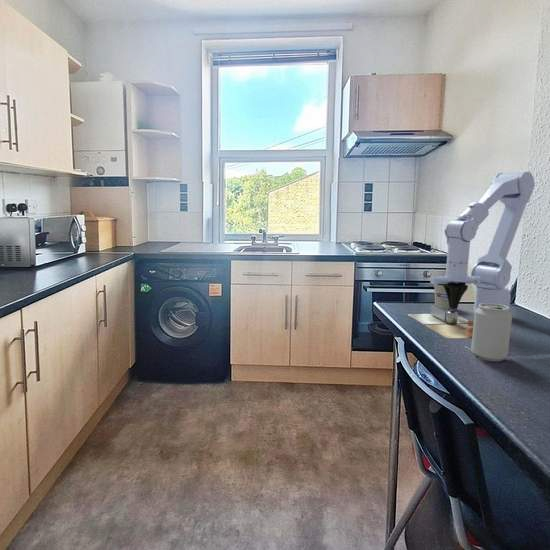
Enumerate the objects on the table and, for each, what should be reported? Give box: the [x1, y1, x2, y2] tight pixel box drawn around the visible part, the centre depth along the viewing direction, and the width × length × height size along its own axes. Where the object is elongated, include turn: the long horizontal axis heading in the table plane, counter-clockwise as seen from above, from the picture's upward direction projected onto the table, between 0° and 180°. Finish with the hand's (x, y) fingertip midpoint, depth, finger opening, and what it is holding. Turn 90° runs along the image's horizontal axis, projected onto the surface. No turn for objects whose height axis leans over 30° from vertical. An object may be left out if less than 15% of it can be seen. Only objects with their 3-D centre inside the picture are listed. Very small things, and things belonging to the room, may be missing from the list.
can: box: [470, 303, 513, 362], centre depth 98 cm, size 8×8×12 cm
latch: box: [430, 304, 459, 324], centre depth 125 cm, size 11×3×3 cm, turn 8°
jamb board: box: [406, 309, 474, 340], centre depth 121 cm, size 15×23×5 cm, turn 8°
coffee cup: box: [433, 281, 455, 310], centre depth 140 cm, size 7×7×10 cm
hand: (453, 307), depth 127 cm, fingers closed
